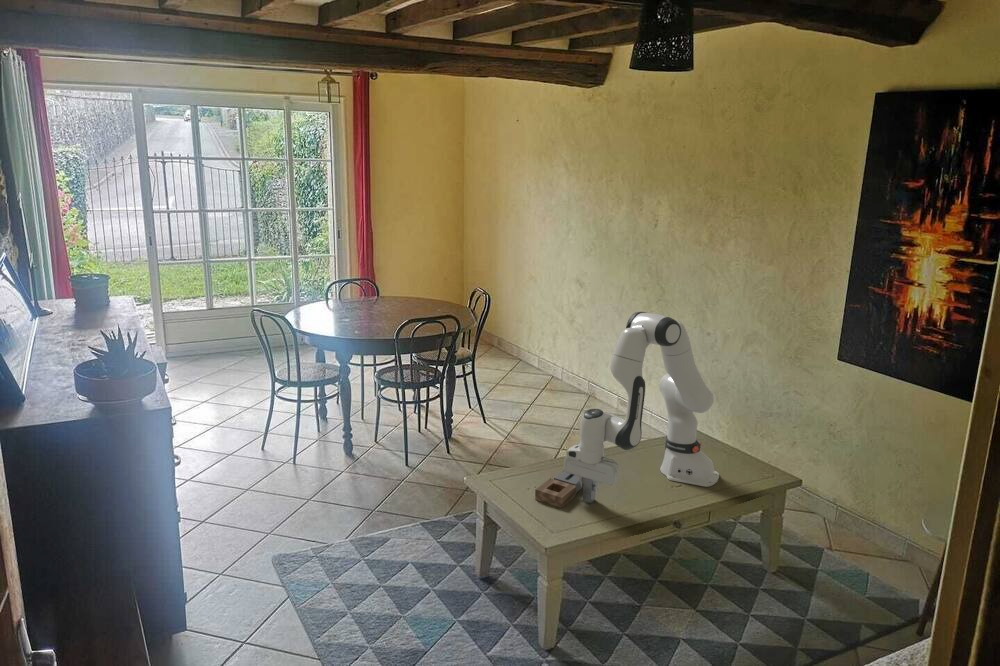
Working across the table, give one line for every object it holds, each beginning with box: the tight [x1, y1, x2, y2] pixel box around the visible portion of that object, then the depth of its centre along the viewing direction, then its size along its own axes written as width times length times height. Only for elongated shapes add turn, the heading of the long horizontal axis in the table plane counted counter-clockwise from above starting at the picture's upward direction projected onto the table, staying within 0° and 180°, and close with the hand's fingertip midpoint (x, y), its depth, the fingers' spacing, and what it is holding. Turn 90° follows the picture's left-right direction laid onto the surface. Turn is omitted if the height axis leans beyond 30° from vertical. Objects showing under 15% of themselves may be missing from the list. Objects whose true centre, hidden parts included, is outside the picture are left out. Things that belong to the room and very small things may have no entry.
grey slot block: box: [553, 469, 584, 494], centre depth 270 cm, size 9×9×4 cm
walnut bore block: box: [534, 478, 577, 509], centre depth 261 cm, size 11×11×4 cm
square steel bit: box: [582, 477, 597, 504], centre depth 258 cm, size 3×3×10 cm
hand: (589, 488), depth 258 cm, fingers closed on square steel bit, 3 cm apart
